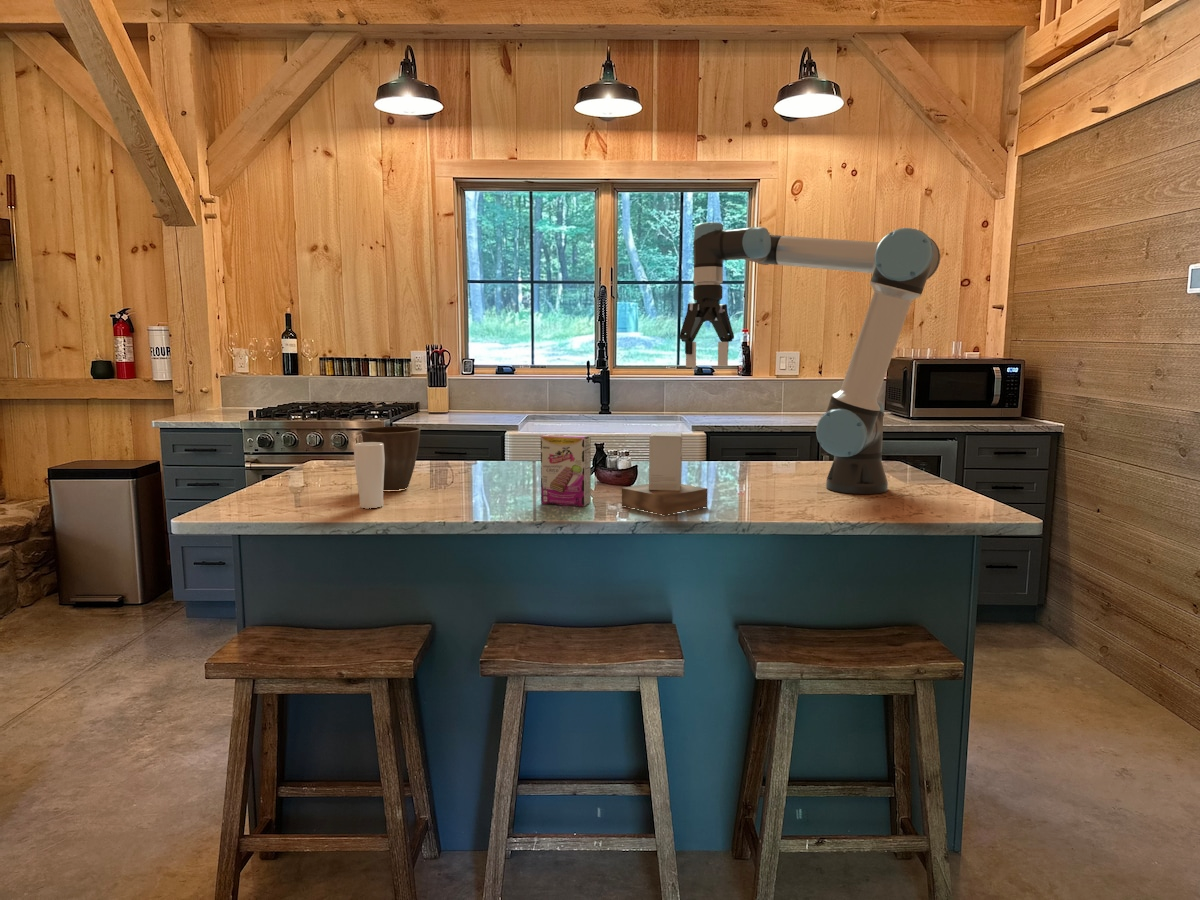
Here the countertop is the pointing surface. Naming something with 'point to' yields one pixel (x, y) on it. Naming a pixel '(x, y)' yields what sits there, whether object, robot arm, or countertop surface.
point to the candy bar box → (565, 469)
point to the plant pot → (396, 452)
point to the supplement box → (665, 461)
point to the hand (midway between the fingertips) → (707, 366)
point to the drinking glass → (370, 473)
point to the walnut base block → (664, 499)
